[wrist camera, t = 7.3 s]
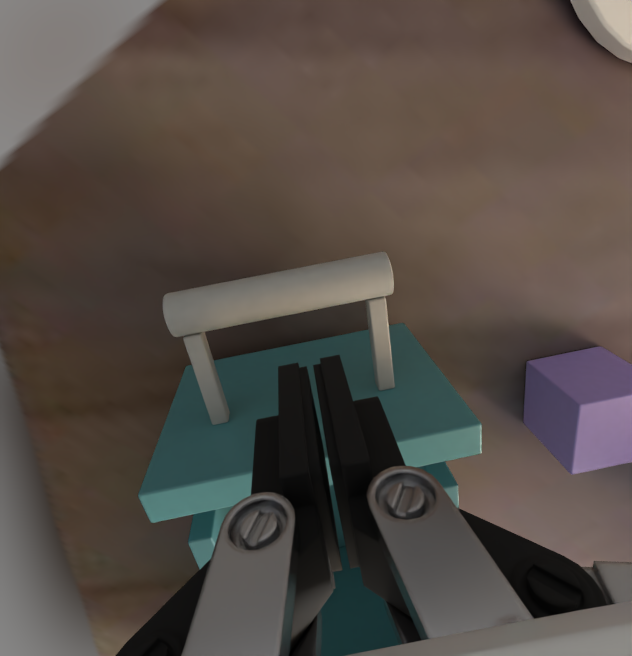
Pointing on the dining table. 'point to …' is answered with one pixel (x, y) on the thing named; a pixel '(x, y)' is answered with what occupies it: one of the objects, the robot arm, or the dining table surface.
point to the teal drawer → (262, 401)
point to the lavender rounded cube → (581, 408)
